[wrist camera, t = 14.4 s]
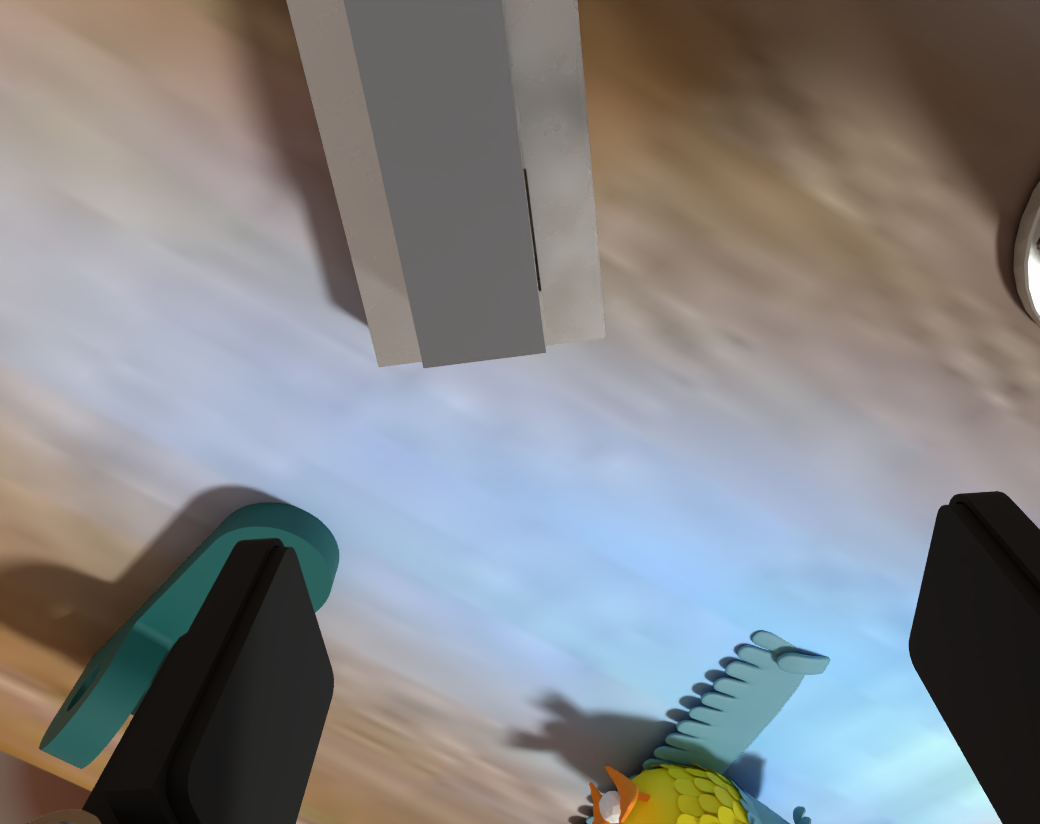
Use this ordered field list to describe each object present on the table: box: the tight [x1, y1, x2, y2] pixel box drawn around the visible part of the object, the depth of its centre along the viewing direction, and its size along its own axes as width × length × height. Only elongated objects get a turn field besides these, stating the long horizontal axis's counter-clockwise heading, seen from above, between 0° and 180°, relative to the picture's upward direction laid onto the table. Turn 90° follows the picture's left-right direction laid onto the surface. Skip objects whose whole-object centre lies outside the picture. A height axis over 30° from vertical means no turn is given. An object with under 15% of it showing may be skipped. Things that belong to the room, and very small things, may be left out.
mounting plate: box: [286, 0, 606, 367], centre depth 28 cm, size 10×22×3 cm, turn 8°
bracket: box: [39, 503, 339, 769], centre depth 40 cm, size 18×7×8 cm, turn 136°
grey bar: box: [344, 0, 546, 368], centre depth 26 cm, size 4×18×7 cm, turn 8°
